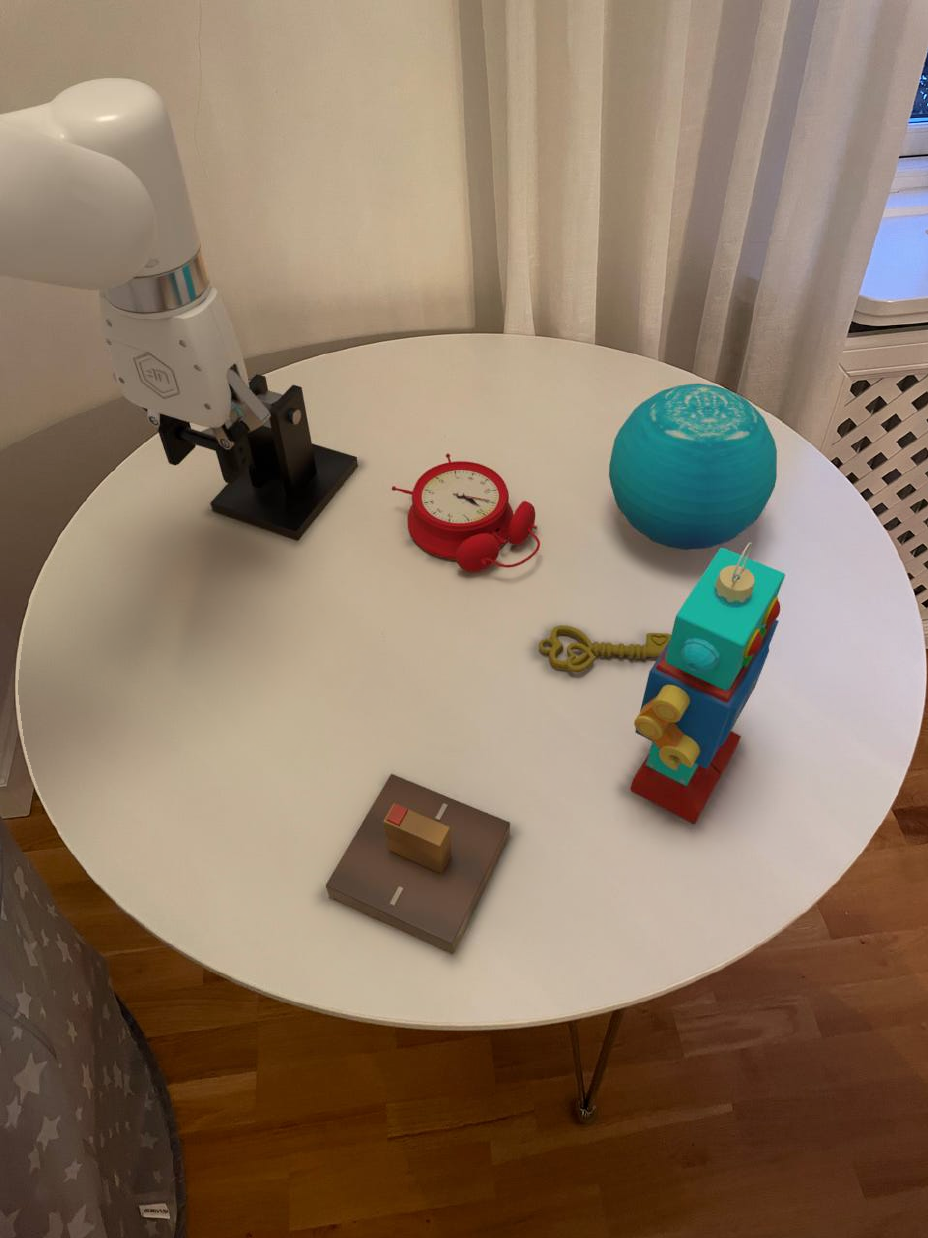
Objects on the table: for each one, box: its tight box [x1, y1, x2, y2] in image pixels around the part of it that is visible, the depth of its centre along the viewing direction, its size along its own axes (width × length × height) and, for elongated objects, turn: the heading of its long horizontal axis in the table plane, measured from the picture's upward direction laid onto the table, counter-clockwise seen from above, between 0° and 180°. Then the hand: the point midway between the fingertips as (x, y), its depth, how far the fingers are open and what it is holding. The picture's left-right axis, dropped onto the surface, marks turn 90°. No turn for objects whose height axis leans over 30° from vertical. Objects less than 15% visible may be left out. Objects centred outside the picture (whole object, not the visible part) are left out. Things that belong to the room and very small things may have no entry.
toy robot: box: [629, 542, 786, 825], centre depth 64 cm, size 12×6×25 cm, turn 147°
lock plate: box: [325, 773, 511, 955], centre depth 68 cm, size 10×10×2 cm
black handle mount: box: [209, 373, 359, 541], centre depth 91 cm, size 12×10×12 cm
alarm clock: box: [391, 453, 541, 573], centre depth 89 cm, size 10×6×15 cm
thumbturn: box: [383, 803, 451, 874], centre depth 66 cm, size 4×2×5 cm, turn 64°
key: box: [538, 625, 671, 673], centre depth 81 cm, size 12×1×5 cm
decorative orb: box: [608, 383, 778, 551], centre depth 85 cm, size 15×15×15 cm
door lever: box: [175, 389, 284, 452], centre depth 84 cm, size 12×5×2 cm, turn 155°
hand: (210, 462), depth 82 cm, fingers closed on door lever, 5 cm apart
